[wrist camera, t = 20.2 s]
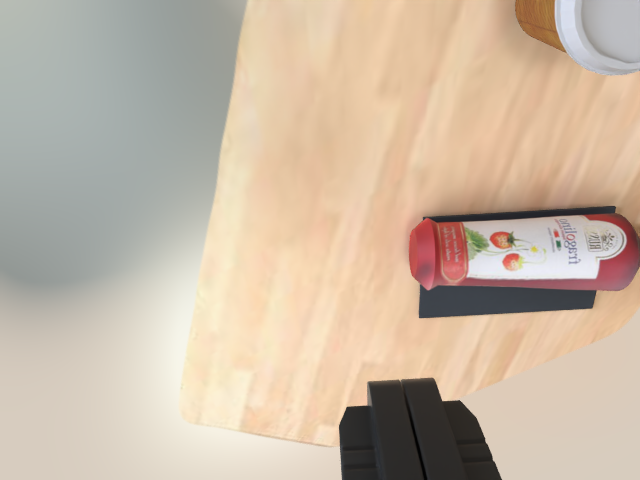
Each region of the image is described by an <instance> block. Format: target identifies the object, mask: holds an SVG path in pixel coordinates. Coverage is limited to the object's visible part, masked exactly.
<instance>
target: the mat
mask: <svg viewBox="0 0 640 480" xmlns="http://www.w3.org/2000/svg"><path fill="white" fill-rule="evenodd" d="M615 209H616V207H615V206H607V207H590V208H573V209H556V210H539V211H522V212H505V213H488V214H470V215H453V216H436V217H423V220H425V219H426V218H429V219H431V220H433V221H434V222H436V223H440V222H470V221H492V220H512V219H527V218H540V217H554V216H572V215H594V214H611V213H615ZM596 291H597V290H566V289H545V288H527V287H500V286H450V285H437V286H436V287H434V288H432V289H430V290H427V289H425V288H424V287H423V286H422V285H421V284H420V305H419V318H432V317H450V316H468V315H485V314H503V313H521V312H538V311H556V310H573V309H591V308H593V303H594V299H595V295H596Z"/></svg>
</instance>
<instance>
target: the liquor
mask: <svg viewBox="0 0 640 480" xmlns="http://www.w3.org/2000/svg"><path fill="white" fill-rule="evenodd" d="M409 261H410V269H411V273H412V276H413V277H414V278H415V279H416V280H417V281H418V282H419V283H420V284H421V285H422V286H423V287H424V288H425V289H427V290H430V289H432V288H434V287H436V286H437V285H450V286H500V287H527V288H545V289H566V290H602V291H620V290H622V289H624V288H626V287H627V286H628V285H629V284H630V282H631V281H632V280H633V278H634V276H635V275H636V273H637V271H638V269H639V267H640V237H638V235H637V233H636V232H635V230H634V228H633V227H632V225H631V224H630V222H629V221H628V220H627V219H626V218H625V217H623V216H622V215H620V214H617V213H611V214H594V215H572V216H554V217H540V218H527V219H512V220H492V221H470V222H440V223H436V222H434V221H433V220H431V219H429V218H426V219H425V220H423V221H422V222H421V223H420V224H419V225H418V226H417V227H416V228H415V229H414V230H412V232H411V235H410V242H409Z"/></svg>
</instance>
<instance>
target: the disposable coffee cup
mask: <svg viewBox="0 0 640 480" xmlns="http://www.w3.org/2000/svg"><path fill="white" fill-rule="evenodd" d="M515 11H516V16H517V19H518V22H519V24H520V26H521V27H522V29H523V30H524V31H525V32H526V33H527V34H528V35H530V36H531V37H533V38H536V39H538V40H540V41H542V42H544V43H547V44H549V45H551V46H553V47H555V48H557V49H559V50H561V51H563V52H566V53H568V55H569V56H570V57H571V58H572V59H573V60H574V61H575V62H576V63H577V64H579V65H580V66H582V67H584V68H585V69H587V70H589V71H592V72H595V73H599V74H603V75H624V74H629V73H634V72H637V71H640V0H516V3H515Z"/></svg>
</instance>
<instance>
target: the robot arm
mask: <svg viewBox="0 0 640 480" xmlns="http://www.w3.org/2000/svg"><path fill="white" fill-rule="evenodd" d="M367 398H368V406H353V407H347V408H346V411H345V413H344V415H343V418H342V420H341V422H340V425H339V434H340V453H341V472H342V480H502V479H501V477H500V474H499V472H498V469H497V467H496V464H495V462H494V461H493V458H492V454H491V452H490V450H489V447H488V445H487V444H486V442H485V437H484V435H483V432H482V430H481V428H480V425H479V423H478V421H477V418H476V417H475V416H474V415H473V414H472V413H471V412H470V411H469V410H468V409H467V408H466V406H465V405H464V404H463V403H462V402H461V401H460V400H458V401H442V399H441V396H440V393H439V390H438V387H437V384H436V382H435V380H434V378H420V379H402V380H401V382H400V380H387V381H369V382H368V383H367Z"/></svg>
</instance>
